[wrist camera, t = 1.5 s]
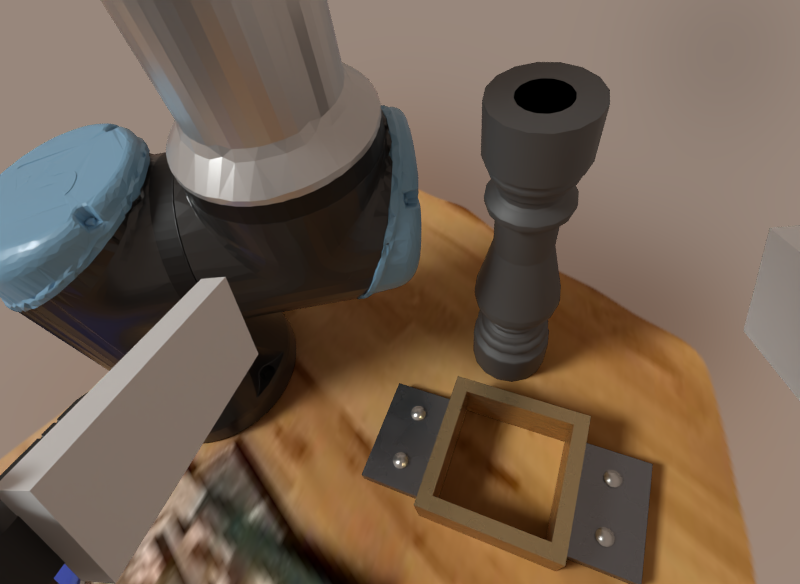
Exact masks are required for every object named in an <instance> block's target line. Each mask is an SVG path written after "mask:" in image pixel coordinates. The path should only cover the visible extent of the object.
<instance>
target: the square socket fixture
mask: <svg viewBox="0 0 800 584" xmlns="http://www.w3.org/2000/svg"><path fill="white" fill-rule="evenodd" d="M467 410H468V411H471V412H474V413H478V414H481V415H484V416H487V417H490V418H493V419H496V420H499V421H502V422H505V423H508V424H512V425H515V426H518V427H521V428H524V429H527V430H530V431H533V432H536V433H539V434H543V435H546V436H549V437H552V438H555V439H558V440H561V441H564V442H565V443H564V449H563V454H562V459H561V464H560V469H559V474H558V479H557V484H556V489H555V495H554V500H553V505H552V510H551V515H550V520H549V525H548V530H547V535H546V540H544V539H542V538H539V537H537V536H534V535H532V534H529V533H526V532H524V531H521V530H519V529H516V528H514V527H511V526H509V525H506V524H503V523H501V522H498V521H496V520H493V519H491V518H488V517H486V516H483V515H480V514H478V513H475V512H473V511H470V510H468V509H465V508H462V507H460V506H457V505H455V504H452V503H450V502H447V501H445V500H442V499H439V496H440V493H441V490H442V486H443V483H444V480H445V477H446V474H447V471H448V468H449V464H450V461H451V458H452V455H453V452H454V449H455V446H456V442H457V439H458V436H459V433H460V430H461V427H462V424H463V421H464V417H465V414H466V411H467ZM590 419H591V416H588V415H585V414H582V413H578V412H575V411H572V410H569V409H565V408H562V407H559V406H555V405H552V404H549V403H545V402H542V401H539V400H535V399H532V398H529V397H525V396H522V395H519V394H515V393H512V392H509V391H505V390H502V389H499V388H495V387H492V386H489V385H486V384H482V383H479V382H476V381H472V380H469V379H466V378H462V377H459V376H458V378H457V380H456V383H455V386H454V389H453V392H452V395H451V398H450V399H447V398H444V397H441V396H438V395H435V394H431V393H428V392H425V391H422V390H419V389H416V388H413V387H409V386H406V385H403V384H400V383H399V385H398V388H397V390H396V393H395V395H394V398H393V400H392V402H391V405H390V407H389V410H388V412H387V415H386V417H385V419H384V422H383V424H382V427H381V429H380V432H379V434H378V436H377V439H376V441H375V444H374V446H373V449H372V451H371V453H370V456H369V458H368V461H367V463H366V466H365V468H364V470H363V473H362V476H363V477H364V478H365V479H367V480H370V481H372V482H375V483H377V484H380V485H382V486H385V487H387V488H390V489H392V490H395V491H397V492H400V493H402V494H405V495H407V496H410V497H412V498H415V499H416V500H415V503H414V507H415V509H416V510H417V512H418V514H419V516H422V517H424V518H427V519H429V520H431V521H434V522H436V523H439V524H441V525H444V526H446V527H449V528H451V529H454V530H456V531H458V532H461V533H463V534H466V535H468V536H471V537H473V538H476V539H478V540H480V541H483V542H485V543H488V544H490V545H493V546H495V547H498V548H500V549H502V550H505V551H507V552H510V553H512V554H515V555H517V556H520V557H522V558H525V559H527V560H529V561H532V562H534V563H537V564H539V565H542V566H544V567H547V568H549V569H551V570H554V571H557V570H559V569H561V568H563V567H565V565H566V559H568V560H571V561H573V562H576V563H578V564H581V565H583V566H586V567H588V568H591V569H593V570H596V571H599V572H601V573H604V574H606V575H609V576H611V577H614V578H616V579H619V580H621V581H624V582H626V583H629V584H641V583H642V573H643V562H644V551H645V540H646V530H647V519H648V508H649V498H650V487H651V476H652V466H653V464H651V463H648V462H645V461H641V460H638V459H635V458H632V457H629V456H626V455H623V454H619V453H616V452H613V451H610V450H607V449H604V448H601V447H597V446H594V445H591V444H588V443H586V442H587V436H588V430H589V425H590Z"/></svg>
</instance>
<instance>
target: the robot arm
mask: <svg viewBox="0 0 800 584" xmlns="http://www.w3.org/2000/svg"><path fill="white" fill-rule="evenodd" d="M101 1H102V3H103V5H104V7H105V8H106V10H107V11H108V13H109V15H110V16H111V18H112V19H113V21H114V23H115V24H116V26H117V27H118V29H119V31H120V32H121V34H122V35H123V37H124V38H125V40H126V42H127V43H128V45H129V46H130V48H131V50H132V51H133V53H134V55H135V56H136V58H137V59H138V61H139V63H140V64H141V66H142V68H143V69H144V71H145V72H146V74H147V76H148V77H149V79H150V80H151V82H152V84H153V85H154V87H155V88H156V90H157V92H158V93H159V95H160V96H161V98H162V100H163V101H164V103H165V104H166V106H167V108H168V109H169V111H170V112H171V114H172V116H173V117H174V119H175V120H174V123H173V125H172V128H171V130H170V133H169V136H168V140H167V144H166V153H160V154H150V153H149V149H148V146H147V144H146V143H145V142H144V140H143V139H141V138H139V137H137V136H136V135H135V134H134V133H133V132H132V131H130V130H129V129H127V128H123V127H119V126H117V125H114V124H94V125H88V126H84V127H81V128H78V129H75V130H71V131H69V132H66V133H64V134H61V135H59V136H57V137H55V138H53V139H51V140H49V141H47V142H45V143H43V144H41V145H40V146H38V147H36V148H35V149H33V150H32V151H30V152H29V153H27V154H26V155H24V156H23V157H21V158H20V159H19V160H17V161H16V162H15V163H13V164H12V165H11V166H10V167H8V168H7V169H6V170H5V171H4V172H3V173H2V174H0V297H1V298H2V300H3V302H4V303H5V305H6V306H7V307H8V308H9V309H11V310H13V311H16V312H19V313H21V314H22V315H24V316H26V317H27V318H28V319H30V320H32V321H33V322H35V323H36V324H38V325H39V326H41V327H42V328H44V329H45V330H47V331H49V332H50V333H52V334H53V335H55V336H56V337H58V338H59V339H61V340H62V341H64V342H65V343H67V344H69V345H70V346H72V347H73V348H75V349H76V350H78V351H79V352H81V353H83V354H84V355H86V356H87V357H89V358H90V359H92V360H93V361H95V362H97V363H98V364H100V365H101V366H103V367H104V368H106V369H107V370H109V372H108V373H107V374H106V375H105V376H104V377H103V378H102V379H101V380H100V381H99V382H98V383H97V384H96V385H95V386H94V387H93V388H92V389H91V390H90V391H89V392H87V393H86V394H84V395H83V396H82V397H80V398H79V399H77V400H76V401H75V402H74V403H73V404H72V405H71V406H70V407H69V408H68V409H67V410H66V411H65V412H64V413H63V414H62V415H61V416H60V417H59V418H58V419H57V423H53V424H52V425H51V426H50V427H49V428H48V429H47V430H46V431H45V432H44V433H43V434H42V437H41V439H37V440H36V441H35V442H34V443H33V444H32V445H31V446H30V447H29V448H28V449H27V450H26V451H25V452H24V453H23V454H22V455H21V456H19V457H18V458H17V459H16V460H15V461H14V462H13V463H12V464H11V465H10V466H9V467H8V468H7V469H6V470H5V471H4V472H3V473H2V474H1V475H0V584H59V583H58V582H57V581H56V580H55V579H54V577H55V576H56V574H57V573H58V572H59V570H60V569H61V568H62V566H63V565H64V564H65V565H66V566H67V567H68V568H69V569H70V570H71V571H72V572H73V573H74V574H75V575H76V576H77V577H78V578H79V579H80V580H81V581H89V582H103V583H116V582H117V581H118V579H119V577H120V576H121V574H122V573H123V571H124V569H125V568H126V566H127V565H128V563H129V561H130V560H131V558H132V556H133V555H134V553H135V552H136V550H137V548H138V547H139V545H140V544H141V542H142V540H143V539H144V537H145V536H146V534H147V532H148V531H149V529H150V528H151V526H152V524H153V523H154V521H155V520H156V518H157V516H158V515H159V513H160V511H161V510H162V508H163V507H164V505H165V503H166V502H167V500H168V499H169V497H170V495H171V494H172V492H173V491H174V489H175V487H176V486H177V484H178V483H179V481H180V479H181V478H182V476H183V475H184V473H185V471H186V470H187V468H188V467H189V465H190V463H191V462H192V460H193V458H194V457H195V455H196V454H197V452H198V450H199V449H200V447H201V446H202V444H203V443H207V442H213V441H218V440H221V439H224V438H227V437H230V436H232V435H235V434H237V433H239V432H241V431H242V430H244V429H246V428H248V427H249V426H251V425H252V424H253V423H255V422H256V421H258V420H259V419H260V418H261V417H262V416H263V415H265V414H266V413H267V412H268V411H269V410H270V409H271V407H272V406H273V405H274V404H275V403H276V402H277V400H278V399H279V398H280V396H281V395H282V393H283V391H284V390H285V388H286V386H287V384H288V382H289V380H290V378H291V375H292V372H293V369H294V365H295V359H296V341H295V336H294V333H293V330H292V328H291V326H290V324H289V322H288V321H287V319H286V317H285V316H284V314H283V313H282V312H284V311H290V310H295V309H301V308H306V307H312V306H317V305H323V304H329V303H334V302H340V301H345V300H351V299H356V298H357V299H365V298H367V297H369V296H371V295H372V294H373V293H377V292H381V291H385V290H389V289H393V288H397V287H400V286H402V285H404V284H406V283H407V282H408V281H409V280H410V279H411V278H412V277H413V276H414V274H415V272H416V270H417V267H418V264H419V259H420V251H421V209H420V203H419V200H418V171H417V164H416V157H415V151H414V145H413V140H412V136H411V132H410V128H409V125H408V122H407V119H406V117H405V115H404V113H403V112H402V111H401V110H400V109H398V108H395V107H387V106H382V105H380V101H379V97H378V93H377V91H376V90H375V88H374V86H373V85H372V83H371V82H370V81H369V79H368V78H366V77H365V76H364V75H363V74H362V73H361V72H359V71H358V70H356V69H354V68H353V67H351V66H348V65H346V64H345V63H343V62H342V61H341V57H340V53H339V49H338V44H337V40H336V36H335V32H334V27H333V23H332V19H331V15H330V10H329V7H328V3H327V0H101ZM744 332H745V333H746V335H747V336H748V337H749V338H750V340H751V341H752V342H753V343H754V345H755V346H756V347H757V348H758V350H759V351H760V352H761V353H762V355H763V356H764V357H765V358H766V360H767V361H768V362H769V363H770V364H771V366H772V367H773V368H774V369H775V371H776V372H777V373H778V375H779V376H780V377H781V378H782V380H783V381H784V382H785V383H786V385H787V386H788V387H789V388H790V390H791V391H792V392H793V393H794V394H795V396H796V397H797V398H798V400H799V401H800V225H799V226H788V227H778V228H770V229H769V233H768V237H767V240H766V244H765V248H764V253H763V256H762V260H761V264H760V268H759V272H758V276H757V280H756V284H755V288H754V292H753V295H752V299H751V303H750V307H749V311H748V315H747V319H746V323H745V327H744Z"/></svg>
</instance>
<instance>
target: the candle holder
mask: <svg viewBox="0 0 800 584" xmlns="http://www.w3.org/2000/svg"><path fill="white" fill-rule="evenodd" d="M609 105H610V90H609V88H608V87H607V86H606V84H605V83H604V82H603V80H602V79H601V78H600V77H599V76H597V75H595V74H593V73H592V72H590V71H588V70H586V69H584V68H582V67H578V66H574V65H570V64H565V63H561V62H536V63H531V64H526V65H521V66H516V67H513V68H511V69H510V70H507V71H505V72H503V73H501V74H499V75H497V76H496V77H495V78H494V79H493V80H492V81H491V82H490V83H489V84H488V85H487V86H486V88H485V92H484V96H483V100H482V136H481V138H482V139H481V156H482V159H483V161H484V163H485V166H486V168H487V170H488V172H489V175H490V177H491V180H490V181H489V182H488V183H487V185H486V190H485V195H484V202H485V205H486V207H487V210H488V212H489V215H490V216H491V217H492V218H493V219H494V220H495V224H494V238H493V241H492V243H491V246H490V248H489V250H488V253H487V255H486V257H485V260H484V262H483V264H482V267H481V269H480V271H479V273H478V276H477V280H476V286H475V296H476V299H477V303H478V306H479V308H480V311H479V315H478V318H477V320H476V323H475V329H474V353H475V357H476V361H477V363H478V364H479V365H480V366H481V368H482V369H483V370H484V371H485V372H486V373H487V374H489V375H491V376H493V377H494V378H496V379H499V380H505V381H511V382H512V381H517V380H522V379H526V378H527V377H529V376H530V375H532V374H533V373H535V372H536V371H537V370H538V368H539V366H540V365H541V363H542V362H543V359H544V355H545V352H546V348H547V345H548V335H549V330H548V319H549V318H550V317H551V315H552V314H553V312H554V311H555V309H556V307H557V306H558V304H559V301H560V289H561V285H560V278H559V271H558V264H557V256H556V248H555V244H556V239H557V235H558V231H559V226H561V225H563V224H565V223H566V222H567V221H568V220H569V218H570V217H571V215H572V214H573V213H574V211H575V210H576V208H577V206H578V189H577V187H576V185H577V183H578V182H579V181H580V179H581V178H582V176H583V175H585V174H586V172H587V171H588V169H589V168H590V166H591V165H592V164H593V162H594V160H595V157H596V153H597V149H598V146H599V142H600V138H601V135H602V131H603V127H604V124H605V120H606V116H607V113H608V109H609Z"/></svg>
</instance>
